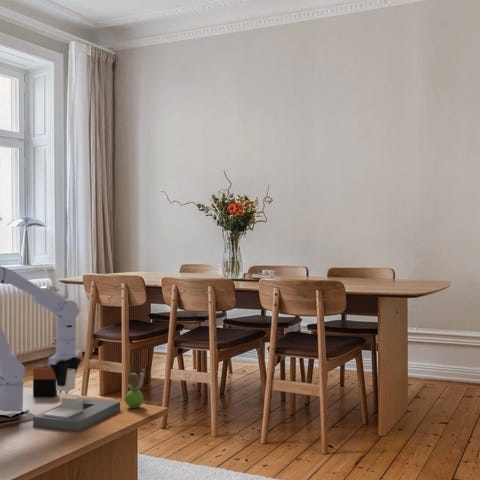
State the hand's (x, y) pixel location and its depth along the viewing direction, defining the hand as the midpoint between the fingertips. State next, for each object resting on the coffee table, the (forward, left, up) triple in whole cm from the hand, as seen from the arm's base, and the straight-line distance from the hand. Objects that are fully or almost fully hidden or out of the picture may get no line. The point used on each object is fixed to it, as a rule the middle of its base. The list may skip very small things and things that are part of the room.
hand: (65, 384), depth 192 cm
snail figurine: (+21, +5, -7) cm, 23 cm away
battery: (-13, +8, -7) cm, 17 cm away
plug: (0, 0, -2) cm, 2 cm away
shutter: (+10, -15, -4) cm, 19 cm away
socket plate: (+11, -10, -6) cm, 16 cm away
